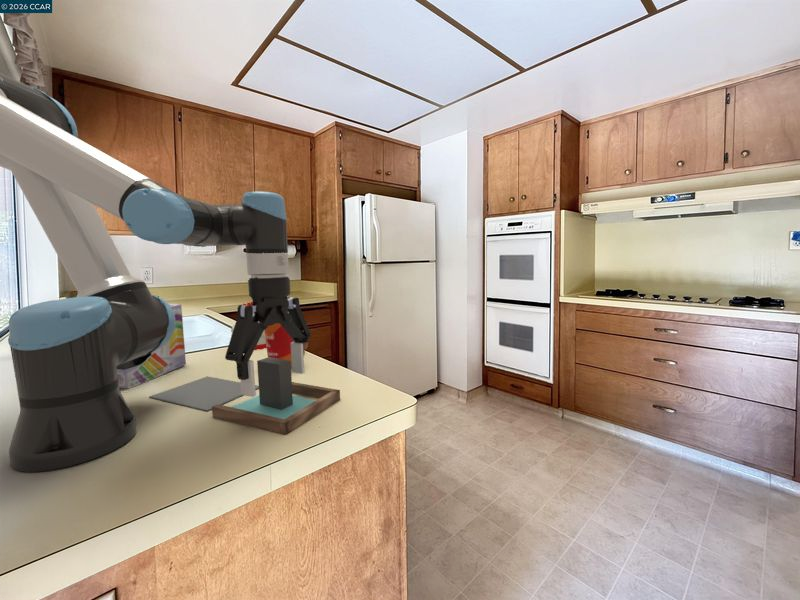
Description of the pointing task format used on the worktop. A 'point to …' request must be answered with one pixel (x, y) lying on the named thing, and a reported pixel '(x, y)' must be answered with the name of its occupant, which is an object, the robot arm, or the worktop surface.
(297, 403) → the cover plate
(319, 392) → the walnut frame
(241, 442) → the worktop surface
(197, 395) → the grey mat
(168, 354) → the cake pan box
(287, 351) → the coffee cup
